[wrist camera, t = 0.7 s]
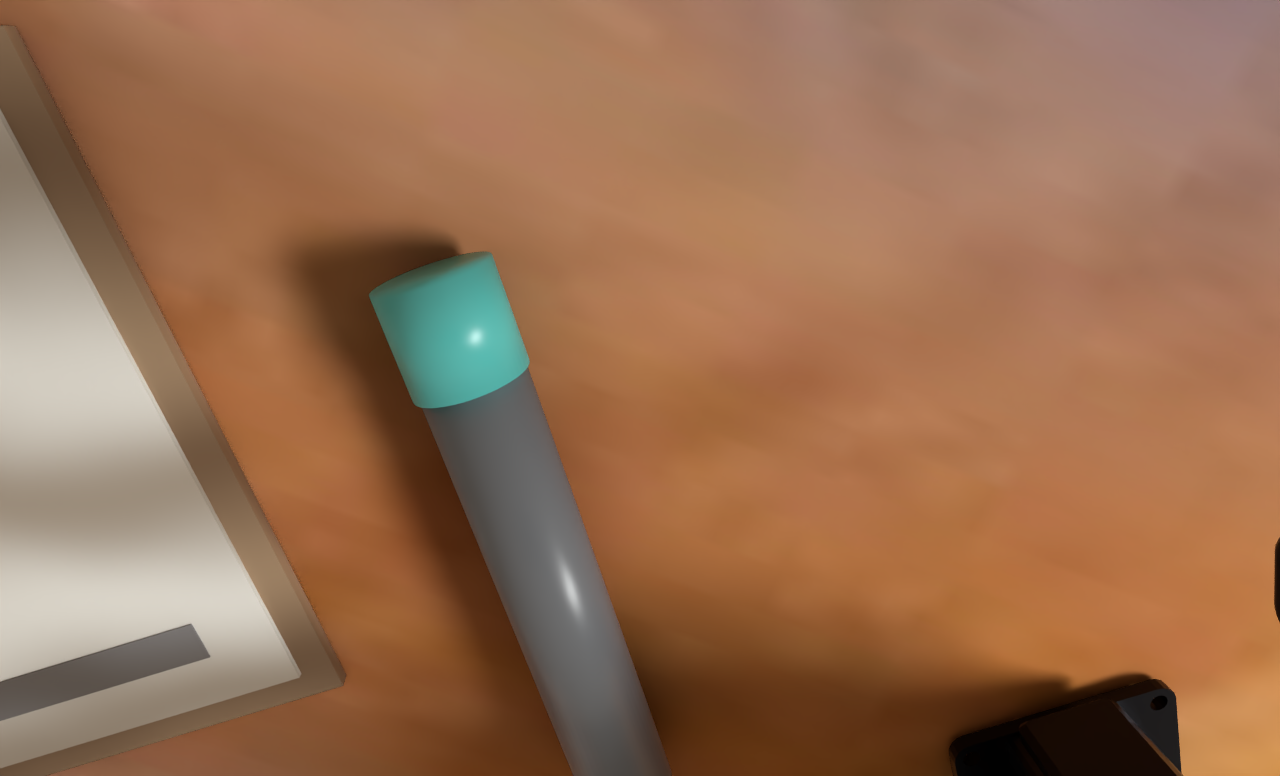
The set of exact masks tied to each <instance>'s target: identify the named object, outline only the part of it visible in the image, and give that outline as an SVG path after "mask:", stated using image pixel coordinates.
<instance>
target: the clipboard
mask: <svg viewBox="0 0 1280 776" xmlns="http://www.w3.org/2000/svg"><path fill="white" fill-rule="evenodd" d="M345 678H346V673H345V672H344V670H343V668H342V666H341V664H340V662H339V660H338V658H337V656H336V654H335V652H334V650H333V648H332V646H331V644H330V642H329V640H328V638H327V636H326V634H325V632H324V630H323V628H322V626H321V624H320V623H319V621H318V619H317V617H316V615H315V613H314V611H313V609H312V607H311V605H310V603H309V601H308V599H307V597H306V595H305V593H304V591H303V589H302V587H301V585H300V583H299V581H298V579H297V577H296V575H295V573H294V572H293V570H292V568H291V566H290V564H289V562H288V560H287V558H286V556H285V554H284V552H283V550H282V548H281V546H280V544H279V542H278V540H277V538H276V536H275V534H274V532H273V530H272V528H271V526H270V524H269V523H268V521H267V519H266V517H265V515H264V513H263V511H262V509H261V507H260V505H259V503H258V501H257V499H256V497H255V495H254V493H253V491H252V489H251V487H250V485H249V483H248V481H247V479H246V477H245V475H244V474H243V472H242V470H241V468H240V466H239V464H238V462H237V460H236V458H235V456H234V454H233V452H232V450H231V448H230V446H229V444H228V442H227V440H226V438H225V436H224V434H223V432H222V430H221V428H220V426H219V424H218V423H217V421H216V419H215V417H214V415H213V413H212V411H211V409H210V407H209V405H208V403H207V401H206V399H205V397H204V395H203V393H202V391H201V389H200V387H199V385H198V383H197V381H196V379H195V377H194V375H193V374H192V372H191V370H190V368H189V366H188V364H187V362H186V360H185V358H184V356H183V354H182V352H181V350H180V348H179V346H178V344H177V342H176V340H175V338H174V336H173V334H172V332H171V330H170V328H169V326H168V324H167V323H166V321H165V319H164V317H163V315H162V313H161V311H160V309H159V307H158V305H157V303H156V301H155V299H154V297H153V295H152V293H151V291H150V289H149V287H148V285H147V283H146V281H145V279H144V277H143V275H142V274H141V272H140V270H139V268H138V266H137V264H136V262H135V260H134V258H133V256H132V254H131V252H130V250H129V248H128V246H127V244H126V242H125V240H124V238H123V236H122V234H121V232H120V230H119V228H118V226H117V225H116V223H115V221H114V219H113V217H112V215H111V213H110V211H109V209H108V207H107V205H106V203H105V201H104V199H103V197H102V195H101V193H100V191H99V189H98V187H97V185H96V183H95V181H94V179H93V177H92V175H91V174H90V172H89V170H88V168H87V166H86V164H85V162H84V160H83V158H82V156H81V154H80V152H79V150H78V148H77V146H76V144H75V142H74V140H73V138H72V136H71V134H70V132H69V130H68V128H67V126H66V125H65V123H64V121H63V119H62V117H61V115H60V113H59V111H58V109H57V107H56V105H55V103H54V101H53V99H52V97H51V95H50V93H49V91H48V89H47V87H46V85H45V83H44V81H43V79H42V77H41V75H40V74H39V72H38V70H37V68H36V66H35V64H34V62H33V60H32V58H31V56H30V54H29V52H28V50H27V48H26V46H25V44H24V42H23V40H22V38H21V36H20V34H19V32H18V30H17V28H16V26H7V25H2V26H0V776H47V775H50V774H54V773H57V772H60V771H64V770H67V769H70V768H73V767H77V766H80V765H83V764H87V763H90V762H93V761H97V760H100V759H103V758H106V757H110V756H113V755H116V754H120V753H123V752H126V751H130V750H133V749H136V748H139V747H143V746H146V745H149V744H153V743H156V742H159V741H163V740H166V739H169V738H172V737H176V736H179V735H182V734H186V733H189V732H192V731H196V730H199V729H202V728H205V727H209V726H212V725H215V724H219V723H222V722H225V721H229V720H232V719H235V718H238V717H242V716H245V715H248V714H252V713H255V712H258V711H261V710H265V709H268V708H271V707H275V706H278V705H281V704H285V703H288V702H291V701H294V700H298V699H301V698H304V697H308V696H311V695H314V694H318V693H321V692H324V691H327V690H331V689H334V688H337V687H341V686H343V684H344V681H345Z"/></svg>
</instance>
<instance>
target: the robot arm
mask: <svg viewBox="0 0 1280 776" xmlns="http://www.w3.org/2000/svg"><path fill="white" fill-rule="evenodd" d="M1274 605H1275V610H1276V614H1277V617H1278V620H1279V622H1280V538H1279V539H1278V541H1277V543H1276V546H1275V586H1274ZM971 752H972V753H971ZM969 753H971V754H969ZM967 754H969V755H967ZM966 755H967V756H966ZM949 756H950V761H951V766H952V771H953V776H1183V775H1182V774H1181V761H1180V747H1179V733H1178V719H1177V705H1176V696H1175V694H1174V692H1173V691H1172V690H1171V689H1170V688H1169V687H1168V686H1167V685H1166V684H1165V683H1164V682H1162V681H1161V680H1157V679H1152V680H1147V681H1144V682H1140V683H1137V684H1134V685H1130V686H1127V687H1124V688H1120V689H1117V690H1114V691H1110V692H1107V693H1104V694H1101V695H1097V696H1094V697H1091V698H1087V699H1084V700H1081V701H1077V702H1074V703H1071V704H1067V705H1064V706H1061V707H1057V708H1054V709H1051V710H1047V711H1044V712H1041V713H1037V714H1034V715H1031V716H1027V717H1024V718H1021V719H1018V720H1014V721H1011V722H1008V723H1004V724H1001V725H998V726H994V727H991V728H988V729H984V730H981V731H978V732H974V733H971V734H968V735H964V736H962V737H960V738H958V739H956V740H955V741H954V742H953V743H952V744H951V746H950V748H949Z"/></svg>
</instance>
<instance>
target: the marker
mask: <svg viewBox="0 0 1280 776" xmlns="http://www.w3.org/2000/svg"><path fill="white" fill-rule="evenodd" d="M369 298H370V300H371V303H372V305H373V307H374V310H375V312H376V315H377V317H378V319H379V322H380V324H381V327H382V329H383V331H384V334H385V336H386V339H387V341H388V344H389V346H390V348H391V351H392V353H393V356H394V358H395V360H396V363H397V365H398V368H399V370H400V372H401V375H402V377H403V380H404V382H405V385H406V387H407V389H408V392H409V394H410V397H411V399H412V401H413V403H414V405H416V406H418V407H421V408H422V409H423V412H424V414H425V417H426V419H427V422H428V424H429V426H430V429H431V431H432V434H433V436H434V439H435V441H436V443H437V446H438V448H439V451H440V453H441V456H442V458H443V460H444V463H445V465H446V468H447V470H448V473H449V475H450V477H451V480H452V482H453V485H454V487H455V490H456V492H457V494H458V497H459V499H460V502H461V504H462V507H463V509H464V511H465V514H466V516H467V519H468V521H469V523H470V526H471V528H472V531H473V533H474V536H475V538H476V540H477V543H478V545H479V548H480V550H481V553H482V555H483V557H484V560H485V562H486V565H487V567H488V570H489V572H490V574H491V577H492V579H493V582H494V584H495V587H496V589H497V591H498V594H499V596H500V599H501V601H502V604H503V606H504V608H505V611H506V613H507V616H508V618H509V621H510V623H511V625H512V628H513V630H514V633H515V635H516V638H517V640H518V642H519V645H520V647H521V650H522V652H523V655H524V657H525V659H526V662H527V664H528V667H529V669H530V672H531V674H532V676H533V679H534V681H535V684H536V686H537V689H538V691H539V693H540V696H541V698H542V701H543V703H544V706H545V708H546V710H547V713H548V715H549V718H550V720H551V723H552V725H553V727H554V730H555V732H556V735H557V737H558V740H559V742H560V744H561V747H562V749H563V752H564V754H565V757H566V759H567V761H568V764H569V766H570V769H571V771H572V774H573V776H672V772H671V768H670V765H669V763H668V760H667V757H666V754H665V751H664V749H663V746H662V743H661V740H660V737H659V735H658V732H657V729H656V726H655V723H654V720H653V718H652V715H651V712H650V709H649V706H648V704H647V701H646V698H645V695H644V692H643V690H642V687H641V684H640V681H639V678H638V676H637V673H636V670H635V667H634V664H633V662H632V659H631V656H630V653H629V650H628V647H627V645H626V642H625V639H624V636H623V633H622V631H621V628H620V625H619V622H618V619H617V617H616V614H615V611H614V608H613V605H612V603H611V600H610V597H609V594H608V591H607V588H606V586H605V583H604V580H603V577H602V574H601V572H600V569H599V566H598V563H597V560H596V558H595V555H594V552H593V549H592V546H591V544H590V541H589V538H588V535H587V532H586V529H585V527H584V524H583V521H582V518H581V515H580V513H579V510H578V507H577V504H576V501H575V499H574V496H573V493H572V490H571V487H570V485H569V482H568V479H567V476H566V473H565V471H564V468H563V465H562V462H561V459H560V456H559V454H558V451H557V448H556V445H555V442H554V440H553V437H552V434H551V431H550V428H549V426H548V423H547V420H546V417H545V414H544V412H543V409H542V406H541V403H540V400H539V397H538V395H537V392H536V389H535V386H534V383H533V381H532V378H531V375H530V372H529V369H528V366H529V363H530V361H529V357H528V355H527V352H526V349H525V346H524V343H523V340H522V338H521V335H520V332H519V329H518V326H517V323H516V321H515V318H514V315H513V312H512V309H511V307H510V304H509V301H508V298H507V295H506V292H505V290H504V287H503V284H502V281H501V278H500V275H499V273H498V270H497V267H496V264H495V261H494V259H493V256H492V254H491V253H490V252H474V253H468V254H463V255H458V256H454V257H450V258H447V259H443V260H440V261H436V262H433V263H430V264H427V265H424V266H422V267H419V268H416V269H414V270H411V271H408V272H406V273H404V274H401V275H399V276H397V277H395V278H392V279H390V280H388V281H387V282H385V283H383V284H381V285H379V286H378V287H376V288H375V289H374V290H372V291H371V292H370V294H369Z"/></svg>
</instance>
